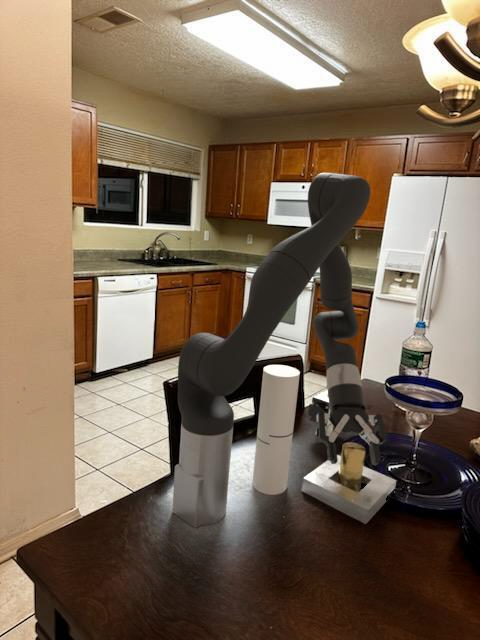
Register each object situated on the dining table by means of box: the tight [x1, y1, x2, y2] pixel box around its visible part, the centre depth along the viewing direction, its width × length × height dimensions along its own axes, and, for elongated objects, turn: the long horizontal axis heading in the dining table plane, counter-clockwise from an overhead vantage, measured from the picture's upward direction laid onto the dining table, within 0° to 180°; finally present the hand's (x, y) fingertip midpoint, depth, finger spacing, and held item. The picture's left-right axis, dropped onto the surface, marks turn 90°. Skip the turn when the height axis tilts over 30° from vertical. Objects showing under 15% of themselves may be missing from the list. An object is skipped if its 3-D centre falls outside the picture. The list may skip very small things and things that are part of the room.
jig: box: [301, 454, 397, 525], centre depth 91 cm, size 14×14×3 cm
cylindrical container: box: [252, 364, 301, 496], centre depth 89 cm, size 7×7×25 cm
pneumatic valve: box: [307, 389, 334, 436], centre depth 115 cm, size 6×12×12 cm, turn 141°
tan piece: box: [337, 441, 367, 493], centre depth 90 cm, size 5×5×10 cm
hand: (355, 463), depth 89 cm, fingers open, 8 cm apart
